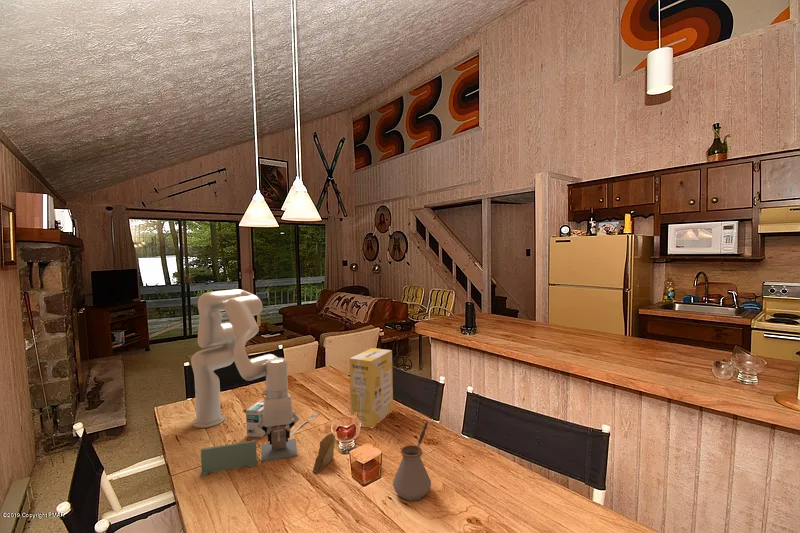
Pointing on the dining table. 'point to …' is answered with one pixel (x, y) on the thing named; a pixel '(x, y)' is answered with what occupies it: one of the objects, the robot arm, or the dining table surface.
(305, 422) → the fork
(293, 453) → the mat
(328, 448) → the rock
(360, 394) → the pasta box
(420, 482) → the coffee pot
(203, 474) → the green panel with feet
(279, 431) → the lettered block
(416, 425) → the dining table surface
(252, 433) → the light bulb box
